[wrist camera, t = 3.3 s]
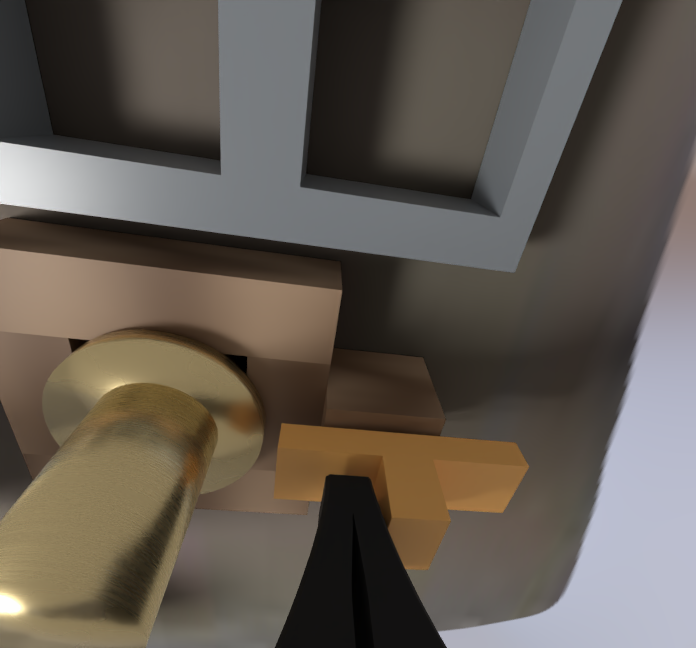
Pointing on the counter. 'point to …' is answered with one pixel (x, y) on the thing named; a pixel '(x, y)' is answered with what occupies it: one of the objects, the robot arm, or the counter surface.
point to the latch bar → (402, 477)
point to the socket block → (198, 336)
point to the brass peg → (121, 486)
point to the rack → (307, 144)
